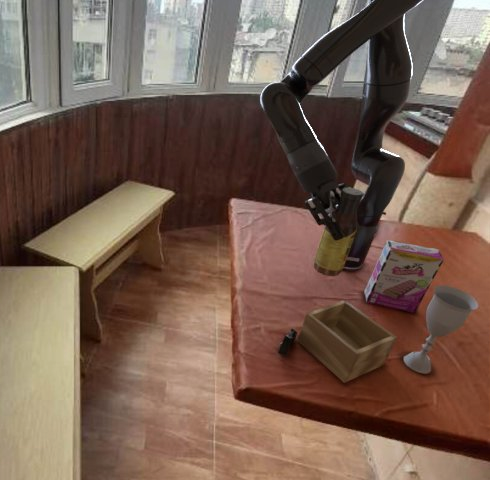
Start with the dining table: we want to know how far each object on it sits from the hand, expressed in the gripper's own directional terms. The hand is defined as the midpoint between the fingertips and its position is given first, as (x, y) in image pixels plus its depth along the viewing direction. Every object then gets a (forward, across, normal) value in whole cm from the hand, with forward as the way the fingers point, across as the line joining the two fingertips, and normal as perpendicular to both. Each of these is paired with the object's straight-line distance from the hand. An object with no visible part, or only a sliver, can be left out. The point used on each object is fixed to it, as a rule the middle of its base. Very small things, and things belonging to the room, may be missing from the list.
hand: (347, 234), depth 90 cm
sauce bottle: (+6, 0, +9) cm, 11 cm away
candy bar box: (+22, +17, +9) cm, 29 cm away
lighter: (+17, -18, +14) cm, 29 cm away
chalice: (+31, 0, 0) cm, 31 cm away
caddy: (+22, -10, +8) cm, 26 cm away
